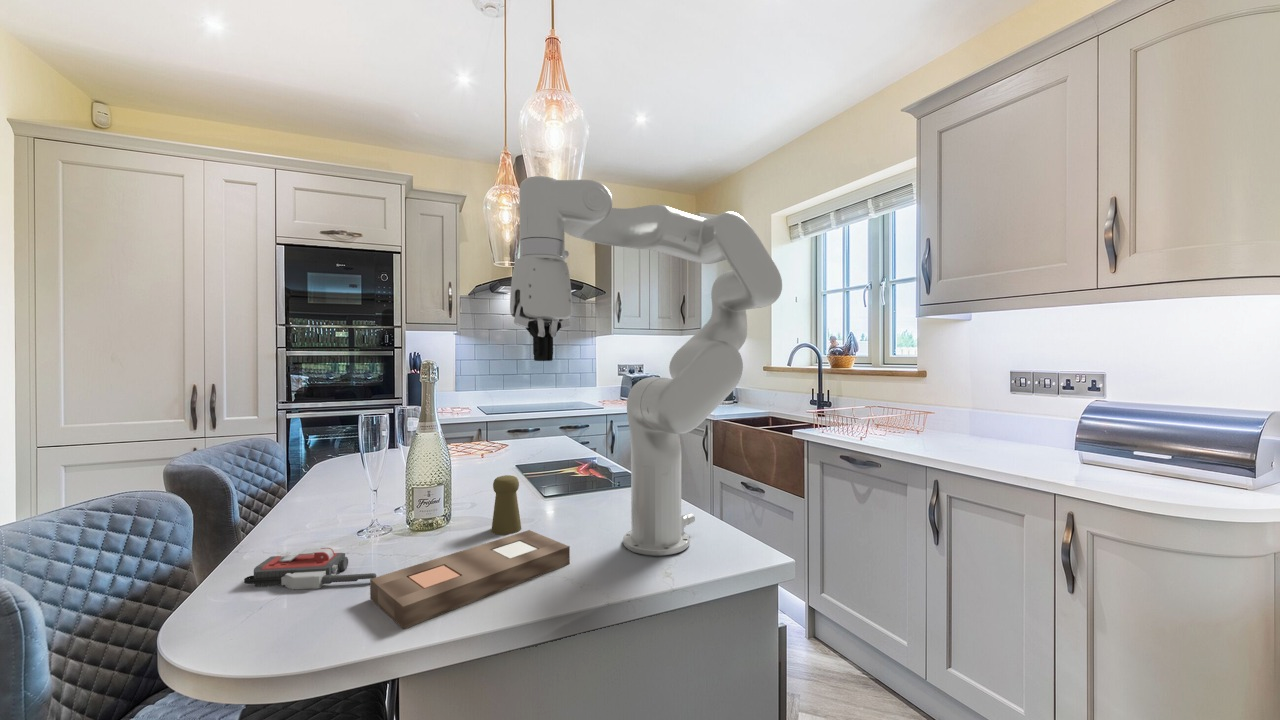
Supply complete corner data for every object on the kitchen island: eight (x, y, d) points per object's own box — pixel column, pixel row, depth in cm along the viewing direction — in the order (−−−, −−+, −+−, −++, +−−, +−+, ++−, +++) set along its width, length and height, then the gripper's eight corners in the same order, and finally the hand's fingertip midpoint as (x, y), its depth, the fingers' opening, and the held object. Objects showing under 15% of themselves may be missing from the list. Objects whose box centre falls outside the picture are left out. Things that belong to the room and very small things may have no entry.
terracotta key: (443, 580, 80) (443, 565, 80) (460, 591, 76) (460, 575, 76) (409, 592, 76) (408, 576, 76) (424, 604, 72) (424, 587, 72)
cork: (484, 531, 103) (484, 478, 103) (505, 522, 109) (505, 471, 109) (507, 536, 101) (506, 481, 100) (527, 527, 106) (527, 474, 106)
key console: (529, 545, 96) (529, 530, 96) (569, 563, 88) (569, 546, 87) (370, 599, 75) (370, 579, 75) (403, 629, 67) (403, 606, 67)
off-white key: (519, 554, 90) (519, 540, 90) (537, 562, 87) (537, 548, 87) (492, 563, 86) (492, 549, 86) (510, 573, 83) (509, 558, 83)
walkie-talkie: (234, 596, 77) (373, 587, 80) (233, 567, 77) (373, 559, 80) (268, 572, 86) (393, 564, 88) (267, 546, 86) (392, 539, 88)
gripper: (563, 261, 95) (564, 360, 95) (491, 250, 84) (492, 361, 84) (590, 256, 89) (590, 360, 90) (517, 243, 78) (518, 361, 79)
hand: (543, 360), depth 87 cm, fingers closed
